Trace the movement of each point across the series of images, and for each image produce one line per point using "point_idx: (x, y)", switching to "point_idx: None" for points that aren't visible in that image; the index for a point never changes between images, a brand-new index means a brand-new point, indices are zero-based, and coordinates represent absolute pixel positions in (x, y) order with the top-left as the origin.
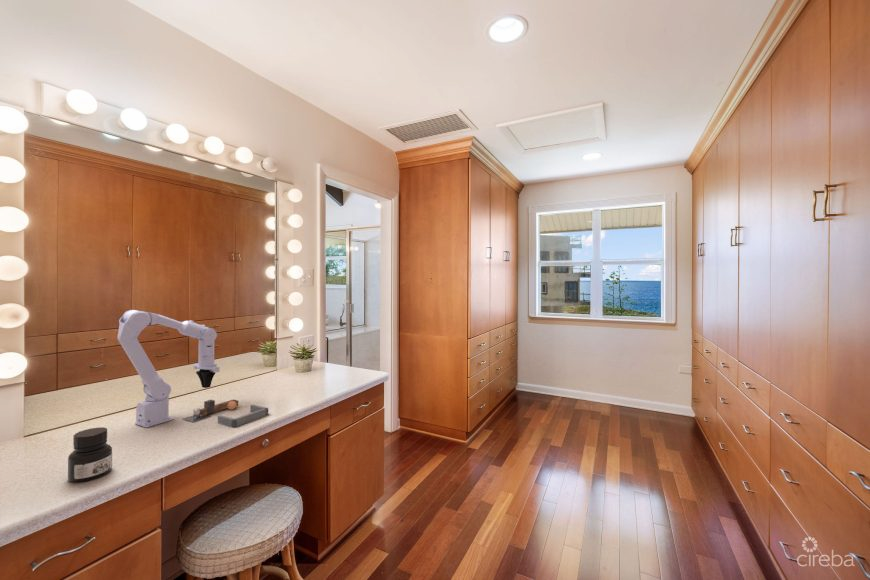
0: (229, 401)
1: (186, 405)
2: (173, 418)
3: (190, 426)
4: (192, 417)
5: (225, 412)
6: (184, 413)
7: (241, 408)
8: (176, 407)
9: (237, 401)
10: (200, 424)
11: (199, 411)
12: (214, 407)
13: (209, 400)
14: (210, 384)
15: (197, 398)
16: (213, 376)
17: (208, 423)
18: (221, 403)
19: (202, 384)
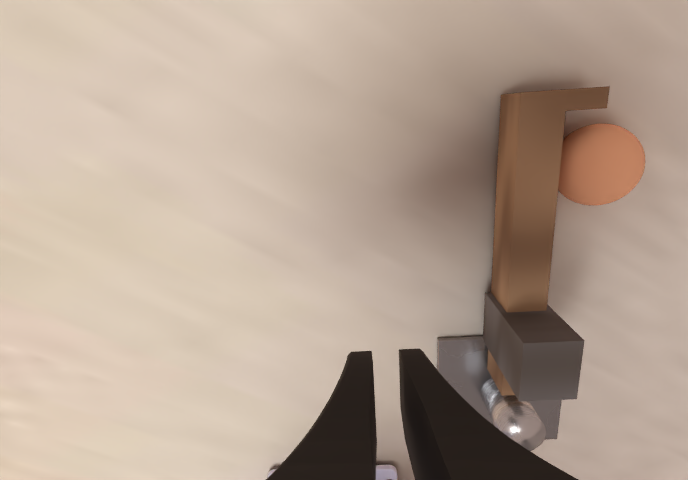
0: (546, 155)
1: (149, 295)
2: (396, 471)
3: (595, 466)
4: (474, 405)
5: (584, 229)
6: (330, 383)
7: (631, 96)
8: (144, 352)
9: (604, 96)
10: (624, 427)
11: (536, 415)
12: (549, 308)
13: (535, 363)
14: (434, 368)
15: (3, 151)
16: (522, 447)
17: (659, 398)
18: (528, 231)
19: (375, 451)
